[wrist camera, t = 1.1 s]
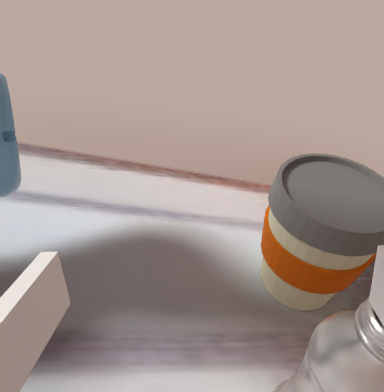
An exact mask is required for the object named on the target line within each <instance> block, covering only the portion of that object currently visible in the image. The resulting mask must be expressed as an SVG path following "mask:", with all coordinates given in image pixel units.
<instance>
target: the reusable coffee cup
mask: <svg viewBox="0 0 384 392" xmlns="http://www.w3.org/2000/svg"><path fill="white" fill-rule="evenodd" d="M268 200H269V206H268V208H267V210H266V213H265V218H264V226H263V234H262V241H261V249H262V254H263V260H262V267H261V279H262V282H263V284H264V286H265V288H266V290H267V291H268V292H269V293H270V295H271V296H272V297H273V298H275V299H276V300H277V301H278V302H280V303H281V304H283V305H285V306H287V307H289V308H292V309H295V310H301V311H313V310H316V309H319V308H321V307H323V306H324V305H325V304H326V303H327V302H328V301H329V300H330V299H331V298H332V297H333V296H334V295H335V294H336V293H337V292H340V291H342V290H344V289H346V288H347V287H348V286H349V285H350V284H351V283H352V282H353V281H354V280H355V279H356V278H357V277H358V276H359V275H360V274H361V273H362V272H363V271H364V270H365V269H366V268H367V267H368V266H369V265H370V264H371V263H372V262H373V261H374V259H375V257H376V254H377V248H378V245H384V178H383V177H382V176H381V175H379V174H378V173H376V172H375V171H373V170H371V169H370V168H368V167H366V166H364V165H362V164H359V163H357V162H354V161H352V160H349V159H346V158H342V157H338V156H334V155H327V154H304V155H299V156H295V157H293V158H291V159H289V160H287V161H286V162H285V163H284V164H283V165H281V167H280V169H279V171H278V173H277V175H276V177H275V180H274V182H273V184H272V186H271V188H270V191H269V196H268Z"/></svg>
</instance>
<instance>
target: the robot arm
mask: <svg viewBox="0 0 384 392" xmlns="http://www.w3.org/2000/svg"><path fill="white" fill-rule="evenodd" d="M20 183H21V170H20V161H19V154H18V147H17V141H16V137H15V128H14V120H13V113H12V107H11V101H10V95H9V90H8V85H7V81H6V78H5V76H4V75H2V74H1V73H0V197H3V196H7V195H10V194H12V193H14V192H15V191H16V190H17V189H18V188H19V186H20ZM369 303H370V305H371V306H372V308H373V310H374V311H375V313H376V315H377V316H378V318H379V320H380V321H381V323H382V325H383V326H384V245H378V248H377V254H376V260H375V266H374V272H373V278H372V284H371V290H370V297H369ZM70 304H71V301H70V297H69V294H68V290H67V286H66V282H65V278H64V274H63V270H62V266H61V262H60V258H59V254H58V252H40V254H39V255H38V256H37V257H36V258H35V259H34V260H33V261H32V263H31V264H30V265H29V266H28V267H27V268H26V269H25V271H24V272H23V273H22V274H21V275H20V276H19V277H18V278H17V280H16V281H15V282H14V283H13V284H12V285H11V286H10V287H9V289H8V290H7V291H6V292H5V293H4V294H3V295H2V297H1V298H0V392H19V391H20V389H21V388H22V386H23V384H24V383H25V381H26V379H27V377H28V376H29V374H30V372H31V371H32V369H33V367H34V365H35V364H36V362H37V360H38V359H39V357H40V355H41V353H42V352H43V350H44V348H45V347H46V345H47V343H48V342H49V340H50V338H51V336H52V335H53V333H54V331H55V330H56V328H57V326H58V324H59V323H60V321H61V319H62V318H63V316H64V314H65V312H66V311H67V309H68V307H69V306H70Z"/></svg>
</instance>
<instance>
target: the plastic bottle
mask: <svg viewBox="0 0 384 392" xmlns="http://www.w3.org/2000/svg"><path fill="white" fill-rule="evenodd" d="M369 297H370V295H369V296H368V298H367V299H366V300H365V301H364V302H362V303H361V304H360V306H359V307H358V308H357V310H345V311H339V312H337V313H335V314H332V315H330V316H328V317H326V318H324V319H323V320H322V321H321V322H320V323H319V324H318V325H317V327H316V328H315V330H314V332H313V334H312V336H311V338H310V341H309V345H308V347H307V350H306V354H305V357H304V359H303V361H302V363H301V365H300V367H299V369H298V370H297V372H296V373H295V374H294V375H293V376H292V377H291V378H290V379H289V380H286V381H284V382H283V383H282V384H280V385H279V386H278V387H277V388H276V389H275V390H274V391H273V392H384V326H383V325H382V323H381V321H380V320H379V318H378V316H377V315H376V313H375V311H374V310H373V308H372V306H371V305H370V303H369Z"/></svg>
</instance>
